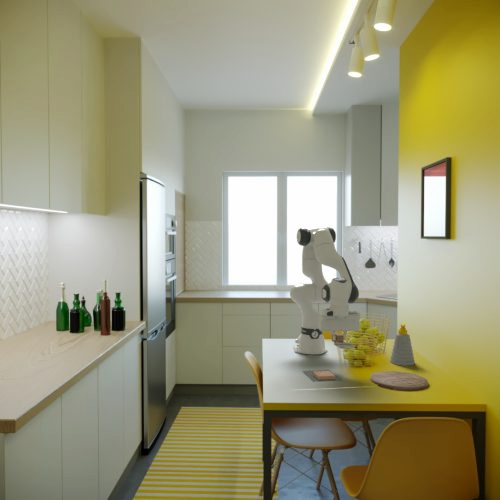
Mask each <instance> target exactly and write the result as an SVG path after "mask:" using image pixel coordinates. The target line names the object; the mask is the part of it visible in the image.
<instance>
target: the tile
mask: <svg viewBox="0 0 500 500" xmlns="http://www.w3.org/2000/svg"><path fill="white" fill-rule="evenodd" d="M315 371H316V370H315ZM330 371H331V370H330ZM330 371H316V372H313V376H314V377H316V378H317V379H318V380H332V379H335V375H336V374H335V373H334V374H335V375H334V374H332V373H331V372H332V371H331V372H330Z"/></svg>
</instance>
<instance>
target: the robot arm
mask: <svg viewBox="0 0 500 500" xmlns="http://www.w3.org/2000/svg"><path fill="white" fill-rule="evenodd" d="M336 239H337V233H336V231H335V229H334V228H332V227H325V226H324V227H323V226H309V227H308V226H307V227H306V226H304V227H300V228H298V230H297V233H296V242H297V243H298V245H299V246H301V247H302V246H303V247H302V254H301V255H302V257H301V260H302V261H301V263H302V264H301V265H302V267H301V271H302V274H303V275H304V276H305V277H307V278H309V279H310V280H311V283H299V284H295V285H293V286H292V287H291V288H290V291H289V296H290V298H291V300H292V302H294V303H295V304H296V305H297V306H298V308H299V309H300V312H301V323H302V324H301V325H302V326H301V327H300V328H301V329H300V335H298V337H297V338H296V339H295V341H294V343H295V344H294V345H293V350H294V352H295V353H296V354H304V355H305V354H306V355H322V354H324V353H327V352H328V349H327V348H326V342H325V341H326V340H325V337H324V335H323V332H330V334H331V336H332V335H333V340H337V337H336V336H335V335H334V333H336V332H343V334H342V336H344V339H343V341H345V340H346V337H347V335H348V332H351V331H352V332H354V331H355V332H357V331H359V330H360V328H361V324H360V318H361V316H360V313H359V312H357V311H356V310H354V311H350V309H349V308H350V307H349V305H350V304H353V303H355V302H356V301H357V300H358V298H359V296H360V294H359V293H360V292H359V288H358V286H357V285H356V283H355V282H354V279H353V277H352V274H351V271H350V269H349V267H348V264H347V262H346V260H345V258H344V257H343V256H342V255H340V254H339V253H338V251H337V249H336V246H335V245H336V244H335V243H336ZM323 266H325V267H326V266H327V267H329V268H332V269H334V270H336V271H337V272H338V274H339V275H340V277H334V278H332V279H331V281H330V282H328V281H327V280H326V279H325V276H324V274H323ZM318 303H319V304H325V303H330V305H329V306H330V307H328V308H325V309H321V311H320V310H317V309H316V308H314V307H313V304H318Z"/></svg>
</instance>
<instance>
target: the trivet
mask: <svg viewBox="0 0 500 500" xmlns="http://www.w3.org/2000/svg"><path fill="white" fill-rule="evenodd" d="M369 379H370V381H371V382H372V383H374V384H376V385H377V386H378V387H380V386H381V387H382V388H384V387H385V389H388V388H390V389H389V390H394V389H396V390H395V391H408V392H409V391H419V390H423V389H424V390H425V389H426V388H428V386H429V380H428V379H427V378H425V376H422V375H419V374H416V373H411V372H404V371H394V370H392V371H391V370H389V371H387V370H386V371H385V370H384V371H376V372H374V373H372V374H370V377H369Z"/></svg>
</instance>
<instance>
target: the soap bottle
mask: <svg viewBox="0 0 500 500" xmlns="http://www.w3.org/2000/svg"><path fill="white" fill-rule="evenodd" d="M389 361H390V364H392V365H395V366H396V365H397V366H401V365H402V366H403V367H411V366H414V365H415V364H416V361H415V357H414V351H413V347H412V341H411V335H410V334H408V329H407V328H406V323H400V328H399V329H398V332H397V333H396V334H395V338H394V342H393V346H392V352H391V355H390V358H389Z"/></svg>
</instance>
